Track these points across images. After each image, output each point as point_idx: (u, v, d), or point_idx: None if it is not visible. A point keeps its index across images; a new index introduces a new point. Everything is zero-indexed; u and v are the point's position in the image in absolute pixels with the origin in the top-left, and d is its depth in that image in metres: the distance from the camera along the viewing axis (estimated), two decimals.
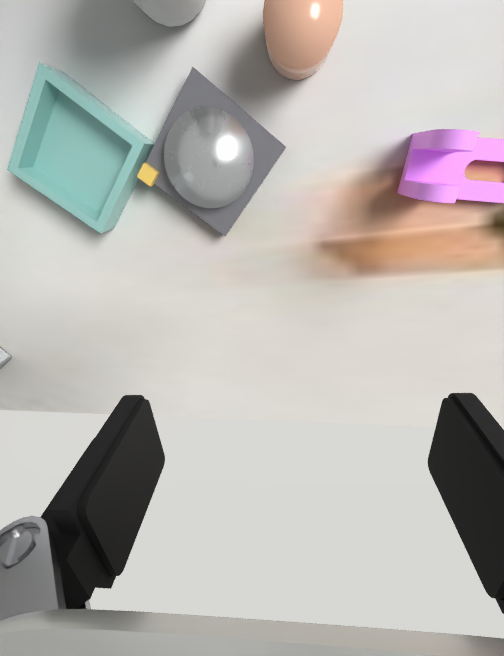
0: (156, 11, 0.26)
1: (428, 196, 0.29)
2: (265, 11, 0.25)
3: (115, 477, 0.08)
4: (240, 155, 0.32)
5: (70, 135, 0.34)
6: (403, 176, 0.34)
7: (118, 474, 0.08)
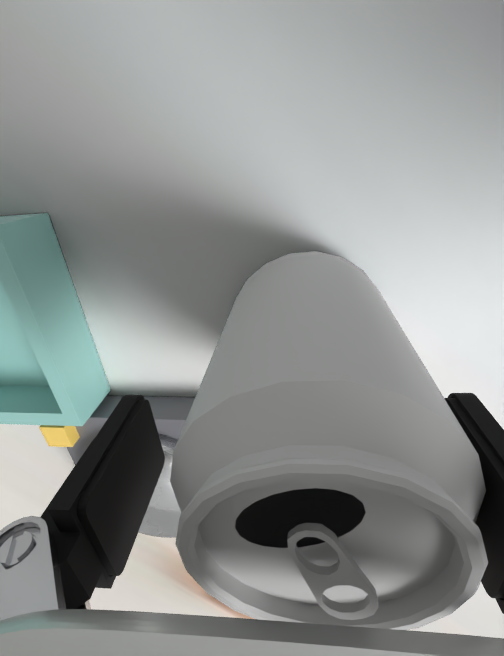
0: None
1: None
2: None
3: (115, 477, 0.08)
4: None
5: None
6: None
7: (118, 474, 0.08)
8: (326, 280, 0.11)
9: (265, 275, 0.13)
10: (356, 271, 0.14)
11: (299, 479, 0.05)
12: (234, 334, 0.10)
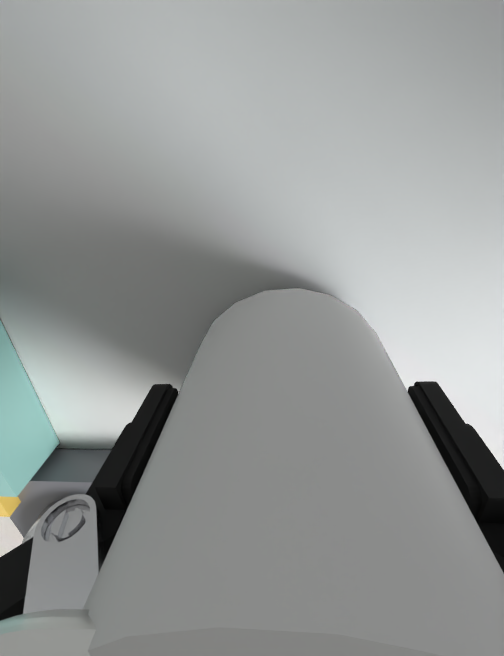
0: None
1: None
2: None
3: None
4: None
5: None
6: None
7: None
8: (310, 340, 0.08)
9: (232, 324, 0.10)
10: (350, 316, 0.11)
11: None
12: (176, 433, 0.07)
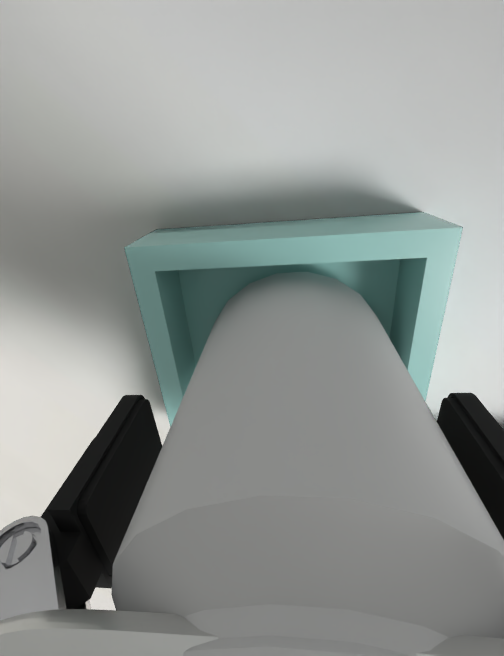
0: None
1: None
2: None
3: (115, 477, 0.08)
4: None
5: None
6: None
7: (118, 474, 0.08)
8: (320, 313, 0.09)
9: (248, 301, 0.11)
10: (353, 297, 0.12)
11: None
12: (205, 385, 0.08)
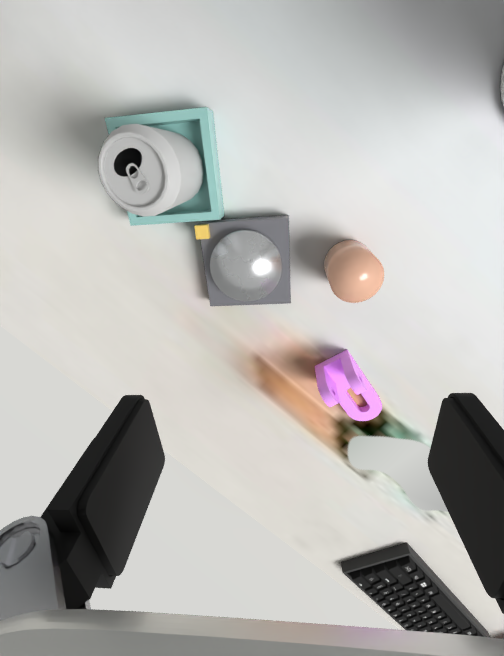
0: None
1: (323, 395, 0.45)
2: (344, 258, 0.36)
3: (115, 477, 0.08)
4: (264, 285, 0.41)
5: None
6: (324, 363, 0.49)
7: (118, 474, 0.08)
8: (160, 129, 0.32)
9: None
10: (183, 137, 0.35)
11: (120, 135, 0.26)
12: None
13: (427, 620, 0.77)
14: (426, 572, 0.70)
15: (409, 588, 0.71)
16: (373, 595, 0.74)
